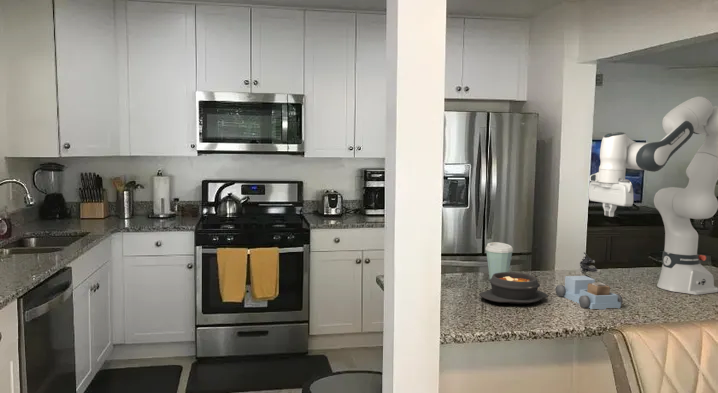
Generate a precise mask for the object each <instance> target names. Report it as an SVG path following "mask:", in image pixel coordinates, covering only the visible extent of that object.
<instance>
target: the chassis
mask: <svg viewBox="0 0 718 393" xmlns="http://www.w3.org/2000/svg"><path fill="white" fill-rule="evenodd" d="M590 277H591V276H589V277H587V276H583V275H567V276H566V275H565V276H564V285H563V284H558V285H556V286H555V293H556V294H555V295H556V296H558V297H562V298H565V299H567V300H570V301H571V300H572V301H571V302H574V303H576V302H577V303H576V304H578V303H579V304H578V305H579V306H580V308H582V307H583V309H584V308H585V309H586V308H587V309H589V308H590V309H589V310H591V309H599V310H607V309H606V308H618V309H621V306H622V305H623V301H624V300H623V297H622V295H621V294H620V293H614V292H611V291H610V295H597V296H596V295H594V294H591V293H589V292H587V289H588V284H592V283H594V282H596V279H595V278H593V277H591V278H590Z"/></svg>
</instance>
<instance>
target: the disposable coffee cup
mask: <svg viewBox="0 0 718 393" xmlns="http://www.w3.org/2000/svg"><path fill="white" fill-rule="evenodd" d="M486 244H487V245H486V246H485V251H486V261H487V268H488V270H487V271H488V277H489V280H490V279H491V278H492V276H493V274H495V273H501V272H510V267H511V263H512V262H511V261H512V255H513V251H514V248H513V247H512V245H510V244H508V243H505V242H499V241H495V242H494V241H493V242H488V243H486Z"/></svg>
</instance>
